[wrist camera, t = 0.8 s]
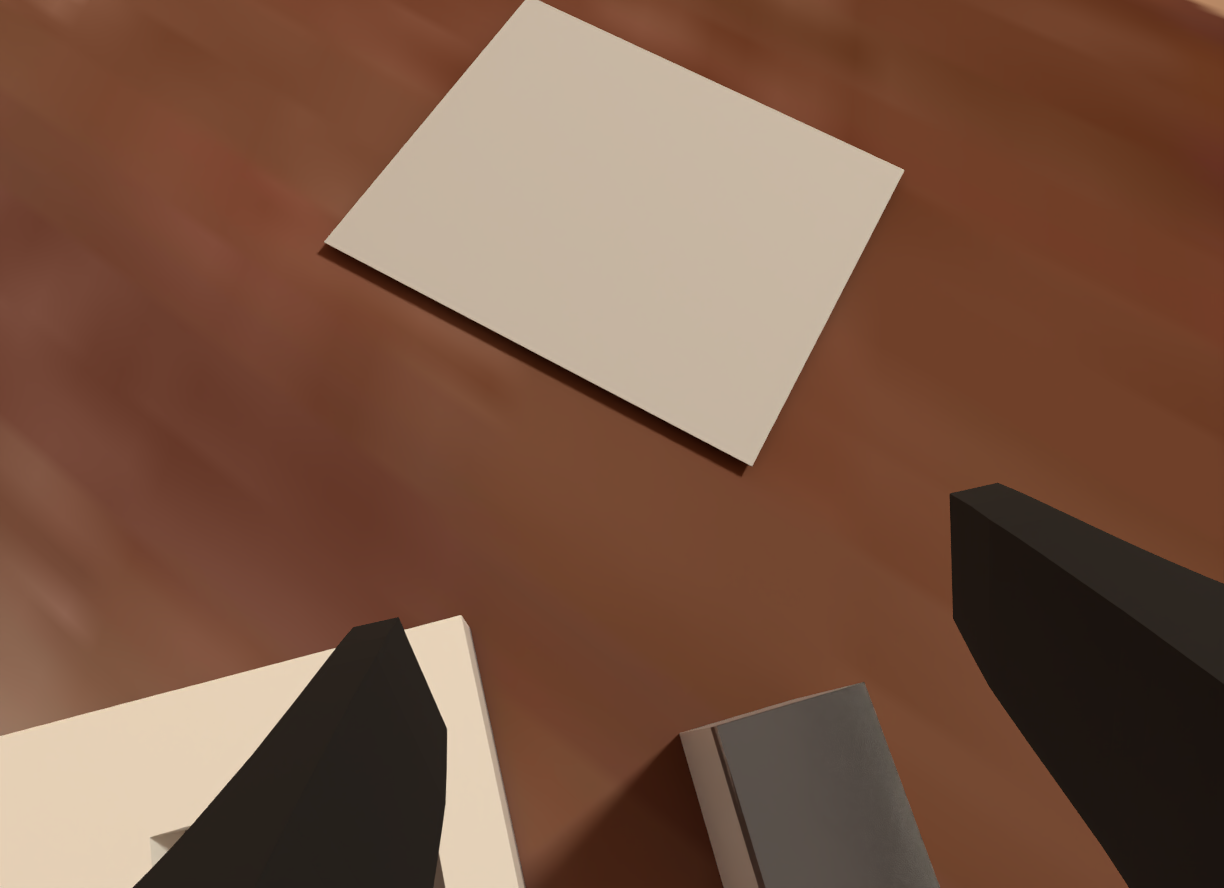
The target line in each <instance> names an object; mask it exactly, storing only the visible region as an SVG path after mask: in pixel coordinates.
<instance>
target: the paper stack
mask: <svg viewBox="0 0 1224 888" xmlns="http://www.w3.org/2000/svg"><path fill="white" fill-rule="evenodd" d="M903 172H904V170H903V169H901V168H899V167H897V166H895V165H892V164H890V163H888V162H886V161H884V160H882V159H880V158H877V157H875V156H873V155H871V154H869V153H867V152H864V151H862V150H860V149H858V148H856V147H854V146H851V145H849V144H847V143H845V142H843V141H841V140H838V139H836V138H834V137H832V136H830V135H828V134H826V133H823V132H821V131H819V130H817V129H815V128H813V127H810V126H808V125H806V124H804V123H802V122H800V121H797V120H795V119H793V118H791V117H789V116H787V115H785V114H782V113H780V112H778V111H776V110H774V109H772V108H769V107H767V106H765V105H763V104H761V103H759V102H756V101H754V100H752V99H750V98H748V97H746V96H744V95H741V94H739V93H737V92H735V91H733V90H731V89H728V88H726V87H724V86H722V85H720V84H718V83H715V82H713V81H711V80H709V79H707V78H705V77H703V76H700V75H698V74H696V73H694V72H692V71H690V70H687V69H685V68H683V67H681V66H679V65H677V64H674V63H672V62H670V61H668V60H666V59H664V58H662V57H659V56H657V55H655V54H653V53H651V52H649V51H646V50H644V49H642V48H640V47H638V46H636V45H633V44H631V43H629V42H627V41H625V40H623V39H621V38H618V37H616V36H614V35H612V34H610V33H608V32H605V31H603V30H601V29H599V28H597V27H595V26H592V25H590V24H588V23H586V22H584V21H582V20H579V19H577V18H575V17H573V16H571V15H569V14H567V13H564V12H562V11H560V10H558V9H556V8H554V7H551V6H549V5H547V4H545V3H543V2H541V1H538V0H525V1H524V2H523V3H522V5H521V6H520V7H519V8H518V9H517V11H516V12H515V13H514V14H513V15H512V17H511V18H510V19H509V20H508V21H507V23H506V24H505V25H504V26H503V27H502V29H501V30H500V31H499V32H498V33H497V35H496V36H495V37H494V38H493V39H492V41H491V42H490V43H489V44H488V45H487V47H486V48H485V49H484V50H483V51H482V53H481V54H480V55H479V56H478V57H477V59H476V60H475V61H474V62H473V63H472V65H471V66H470V67H469V68H468V69H467V71H466V72H465V73H464V74H463V75H462V77H461V78H460V79H459V80H458V81H457V83H456V84H455V85H454V86H453V87H452V89H451V90H450V91H449V92H448V93H447V95H446V96H445V97H444V98H443V99H442V101H441V102H440V103H439V104H438V105H437V107H436V108H435V109H434V110H433V111H432V113H431V114H430V115H429V116H428V118H427V119H426V120H425V121H424V122H423V124H422V125H421V126H420V127H419V128H418V130H417V131H416V132H415V133H414V134H413V136H412V137H411V138H410V139H409V140H408V142H407V143H406V144H405V145H404V146H403V148H402V149H401V150H400V151H399V152H398V154H397V155H396V156H395V157H394V158H393V160H392V161H391V162H390V163H389V164H388V166H387V167H386V168H385V169H384V170H383V172H382V173H381V174H380V175H379V176H378V178H377V179H376V180H375V181H374V182H373V184H372V185H371V186H370V187H369V188H368V190H367V191H366V192H365V193H364V194H363V196H362V197H361V198H360V199H359V200H358V202H357V203H356V204H355V205H354V206H353V208H352V209H351V210H350V211H349V212H348V214H347V215H346V216H345V217H344V218H343V220H342V221H341V222H340V223H339V224H338V226H337V227H336V228H335V229H334V231H333V232H332V233H331V234H330V235H329V237H328V238H327V239H326V240H325V241H324V243H326V244H328V245H330V246H332V247H334V248H336V249H338V250H339V251H341V252H343V253H345V254H347V255H349V256H351V257H353V258H355V259H357V260H359V261H360V262H362V263H364V264H366V265H368V266H370V267H372V268H374V269H376V270H378V271H380V272H381V273H383V274H385V275H387V276H389V277H391V278H393V279H395V280H397V281H399V282H400V283H402V284H404V285H406V286H408V287H410V288H412V289H414V290H416V291H418V292H420V293H421V294H423V295H425V296H427V297H429V298H431V299H433V300H435V301H437V302H439V303H441V304H442V305H444V306H446V307H448V308H450V309H452V310H454V311H456V312H458V313H460V314H462V315H463V316H465V317H467V318H469V319H471V320H473V321H475V322H477V323H479V324H481V325H483V326H484V327H486V328H488V329H490V330H492V331H494V332H496V333H498V334H500V335H502V336H504V337H505V338H507V339H509V340H511V341H513V342H515V343H517V344H519V345H521V346H523V347H525V348H526V349H528V350H530V351H532V352H534V353H536V354H538V355H540V356H542V357H544V358H546V359H547V360H549V361H551V362H553V363H555V364H557V365H559V366H561V367H563V368H565V369H567V370H568V371H570V372H572V373H574V374H576V375H578V376H580V377H582V378H584V379H586V380H588V381H589V382H591V383H593V384H595V385H597V386H599V387H601V388H603V389H605V390H607V391H609V392H610V393H612V394H614V395H616V396H618V397H620V398H622V399H624V400H626V401H628V402H630V403H631V404H633V405H635V406H637V407H639V408H641V409H643V410H645V411H647V412H649V413H651V414H652V415H654V416H656V417H658V418H660V419H662V420H664V421H666V422H668V423H670V424H672V425H673V426H675V427H677V428H679V429H681V430H683V431H685V432H687V433H689V434H691V435H693V436H694V437H696V438H698V439H700V440H702V441H704V442H706V443H708V444H710V445H712V446H714V447H715V448H717V449H719V450H721V451H723V452H725V453H727V454H729V455H731V456H733V457H734V458H736V459H738V460H740V461H742V462H744V463H746V464H748V465H750V466H752V465H753V463H754V461H755V459H756V458H757V456H758V454H759V452H760V450H761V448H762V446H763V444H764V442H765V440H766V438H767V436H768V434H769V432H770V430H771V428H772V426H773V425H774V423H775V421H776V419H777V417H778V415H779V413H780V411H781V409H782V407H783V405H784V403H785V401H786V399H787V397H788V395H789V393H790V392H791V390H792V388H793V386H794V384H795V382H796V380H797V378H798V376H799V374H800V372H801V370H802V368H803V366H804V364H805V362H806V360H807V358H808V357H809V355H810V353H811V351H812V349H813V347H814V345H815V343H816V341H817V339H818V337H819V335H820V333H821V331H822V329H823V327H824V325H825V324H826V322H827V320H828V318H829V316H830V314H831V312H832V310H833V308H834V306H835V304H836V302H837V300H838V298H839V296H840V294H841V292H842V291H843V289H844V287H845V285H846V283H847V281H848V279H849V277H850V275H851V273H852V271H853V269H854V267H855V265H856V263H857V261H858V259H859V257H860V256H861V254H862V252H863V250H864V248H865V246H866V244H867V242H868V240H869V238H870V236H871V234H872V232H873V230H874V228H875V226H876V224H877V223H878V221H879V219H880V217H881V215H882V213H883V211H884V209H885V207H886V205H887V203H888V201H889V199H890V197H891V195H892V193H893V191H894V190H895V188H896V186H897V184H898V182H899V180H900V178H901V176H902V174H903Z"/></svg>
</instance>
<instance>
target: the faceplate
mask: <svg viewBox="0 0 1224 888" xmlns="http://www.w3.org/2000/svg"><path fill="white" fill-rule="evenodd" d="M404 631H405V633H406V636H407V638H408V640H409V642H410V645H411V647H412V649H413V652H414V654H415V656H416V659H417V661H418V663H419V665H420V668H421V670H422V672H423V675H424V677H425V679H426V681H427V684H428V686H429V688H430V691H431V693H432V695H433V698H434V700H435V702H436V704H437V707H438V709H439V711H440V714H441V716H442V718H443V720H444V723H445V725H446V727H447V779H446V805H445V812H444V819H443V827H442V833H441V840H440V847H439V854H438V861H437V867H436V874H435V880H434V887H433V888H526V887H525V882H524V877H523V873H522V868H521V863H520V859H519V854H518V849H517V845H516V840H515V835H514V831H513V826H512V821H511V816H510V812H509V807H508V802H507V798H506V793H505V788H504V784H503V779H502V774H501V770H500V765H499V760H498V756H497V751H496V746H495V742H494V737H493V732H492V728H491V723H490V718H489V714H488V709H487V704H486V700H485V695H484V690H483V686H482V681H481V676H480V672H479V667H478V662H477V658H476V653H475V648H474V644H473V639H472V634H471V630H470V628H469V626H468V625H467V623H466V622H465V620H464V619H463V617H462V616H461V615H460V616H456V617H452V618H448V619H444V620H441V621H437V622H433V623H429V624H425V625H422V626H418V627H414V628H410V629H406V630H404ZM335 649H336V648H334V649H330V650H326V651H323V652H319V653H315V654H311V655H307V656H304V657H300V658H296V659H292V660H288V661H285V662H281V663H277V664H273V665H269V666H266V667H262V668H258V669H254V670H250V671H247V672H243V673H239V674H235V675H231V676H228V677H224V678H220V679H216V680H212V681H208V682H205V683H201V684H197V685H193V686H189V687H186V688H182V689H178V690H174V691H170V692H167V693H163V694H159V695H155V696H151V697H148V698H144V699H140V700H136V701H132V702H129V703H125V704H121V705H117V706H113V707H110V708H106V709H102V710H98V711H94V712H91V713H87V714H83V715H79V716H75V717H72V718H68V719H64V720H60V721H56V722H52V723H49V724H45V725H41V726H37V727H33V728H30V729H26V730H22V731H18V732H14V733H11V734H7V735H3V736H0V888H133V887H134V885H135V884H136V883H137V882H138V881H139V880H140V879H141V878H142V877H143V876H144V875H145V874H146V873H147V872H148V871H149V870H150V869H151V868H152V867H153V866H154V865H155V864H156V863H157V862H158V861H159V860H160V859H161V858H162V857H163V856H164V855H165V854H166V852H167V851H168V850H169V849H170V848H171V847H172V846H173V845H174V844H175V843H176V842H177V841H178V840H179V838H180V837H181V836H182V835H183V834H184V833H185V832H186V831H187V830H188V829H189V828H190V826H191V825H192V824H193V823H194V822H195V821H196V819H197V818H198V817H199V816H200V815H201V814H202V812H203V811H204V810H205V809H206V808H207V807H208V805H209V804H210V803H211V802H212V801H213V800H214V798H215V797H216V796H217V795H218V794H219V793H220V791H221V790H222V789H223V788H224V787H225V786H226V785H227V783H228V782H229V781H230V780H231V779H232V778H233V776H234V775H235V774H236V773H237V772H238V771H239V769H240V768H241V767H242V766H243V765H244V764H245V762H246V761H247V760H248V759H249V758H250V757H251V755H252V754H253V753H254V752H255V750H256V749H257V748H258V747H259V745H260V744H261V743H262V742H263V740H264V739H265V738H266V737H267V735H268V734H269V733H270V732H271V730H272V729H273V728H274V727H275V725H276V724H277V723H278V721H279V720H280V719H281V718H282V716H283V715H284V714H285V713H286V711H287V710H288V709H289V708H290V706H291V705H292V704H293V703H294V701H295V700H296V699H297V697H298V696H299V695H300V694H301V692H302V691H303V690H304V688H305V687H306V686H307V685H308V683H309V682H310V681H311V679H312V678H313V677H314V676H315V674H316V673H317V672H318V670H319V669H320V668H321V666H322V665H323V664H324V663H325V661H326V660H327V659H328V658H329V656H330V655H331V654H332V652H333V651H334V650H335Z"/></svg>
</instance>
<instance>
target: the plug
mask: <svg viewBox="0 0 1224 888" xmlns="http://www.w3.org/2000/svg"><path fill="white" fill-rule="evenodd" d="M679 735H680V738H681V742H682V745H683V748H684V752H685V755H686V759H687V762H688V766H689V769H690V773H691V776H692V780H693V783H694V787H695V790H696V794H697V797H698V801H699V804H700V808H701V811H702V814H703V818H704V821H705V825H706V828H707V832H708V835H709V839H710V842H711V846H712V849H713V853H714V856H715V860H716V863H717V867H718V870H719V873H720V877H721V880H722V884H723V887H724V888H940V887H939V884H938V881H937V878H936V876H935V873H934V870H933V868H932V865H931V862H930V859H929V857H928V854H927V851H926V849H925V846H924V843H923V840H922V838H921V835H920V832H919V830H918V827H917V824H916V821H915V819H914V816H913V813H912V811H911V808H910V805H909V802H908V800H907V797H906V794H905V792H904V789H903V786H902V783H901V781H900V778H899V775H898V773H897V770H896V767H895V764H894V762H893V759H892V756H891V754H890V751H889V748H888V745H887V743H886V740H885V737H884V735H883V732H882V729H881V726H880V724H879V721H878V718H877V716H876V713H875V710H874V707H873V705H872V702H871V699H870V697H869V694H868V691H867V688H866V686H865V683H864V682H863V683H859V684H855V685H850V686H846V687H842V688H838V689H834V690H830V691H826V692H822V693H818V694H814V695H810V696H806V697H801V698H797V699H793V700H790V701H787V702H783V703H780V704H777V705H773V706H770V707H766V708H763V709H760V710H756V711H753V712H750V713H746V714H743V715H740V716H736V717H733V718H729V719H726V720H723V721H719V722H716V723H713V724H709V725H706V726H703V727H699V728H696V729H692V730H689V731H686V732H682V733H679Z"/></svg>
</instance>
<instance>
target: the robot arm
mask: <svg viewBox="0 0 1224 888" xmlns="http://www.w3.org/2000/svg"><path fill="white" fill-rule="evenodd" d="M950 521H951V557H952V593H953V619H954V621H955V623H956V625H957V627H958V629H959V631H960V633H961V634H962V636H963V638H964V640H965V642H966V644H967V646H968V648H969V650H970V652H971V654H972V656H973V658H974V659H975V661H976V663H977V665H978V667H979V669H980V670H981V672H982V674H983V676H984V678H985V680H986V681H987V683H988V685H989V687H990V688H991V690H992V691H993V693H994V694H995V696H996V697H997V698H998V700H999V701H1000V703H1001V704H1002V706H1003V707H1004V709H1005V710H1006V711H1007V713H1008V714H1009V716H1010V717H1011V719H1012V720H1013V721H1014V723H1015V724H1016V726H1017V727H1018V729H1019V730H1020V731H1021V733H1022V734H1023V736H1024V737H1025V739H1026V740H1027V741H1028V743H1029V744H1030V746H1031V747H1032V748H1033V750H1034V751H1035V753H1036V754H1037V755H1038V757H1039V758H1040V760H1041V761H1042V762H1043V764H1044V765H1045V767H1046V768H1047V769H1048V771H1049V772H1050V774H1051V775H1052V776H1053V778H1054V779H1055V781H1056V782H1057V783H1058V785H1059V786H1060V788H1061V789H1062V790H1063V792H1064V793H1065V795H1066V796H1067V798H1068V799H1069V800H1070V802H1071V803H1072V805H1073V806H1074V807H1075V809H1076V810H1077V812H1078V813H1079V814H1080V816H1081V817H1082V819H1083V820H1084V821H1085V823H1086V824H1087V826H1088V827H1089V828H1090V830H1091V831H1092V833H1093V834H1094V835H1095V837H1096V838H1097V840H1098V841H1099V842H1100V844H1101V845H1102V847H1103V848H1104V850H1105V851H1106V853H1107V854H1108V856H1109V857H1110V859H1111V860H1112V862H1113V864H1114V865H1115V867H1116V868H1117V870H1118V871H1119V873H1120V874H1121V876H1122V877H1123V879H1124V880H1125V882H1126V883H1127V885H1128V887H1129V888H1224V584H1223V583H1220V582H1218V581H1215V580H1213V579H1210V578H1208V577H1205V576H1203V575H1201V574H1198V573H1196V572H1194V571H1191V570H1189V569H1187V568H1184V567H1182V566H1180V565H1177V564H1175V563H1173V562H1170V561H1168V560H1166V559H1163V558H1161V557H1159V556H1157V555H1154V554H1152V553H1150V552H1148V551H1145V550H1143V549H1141V548H1139V547H1137V546H1134V545H1132V544H1130V543H1128V542H1126V541H1123V540H1121V539H1119V538H1117V537H1115V536H1113V535H1110V534H1108V533H1106V532H1104V531H1102V530H1100V529H1097V528H1095V527H1093V526H1091V525H1089V524H1087V523H1085V522H1083V521H1081V520H1078V519H1076V518H1074V517H1072V516H1070V515H1068V514H1066V513H1064V512H1061V511H1059V510H1057V509H1055V508H1053V507H1051V506H1049V505H1047V504H1044V503H1042V502H1040V501H1038V500H1036V499H1034V498H1032V497H1029V496H1027V495H1025V494H1023V493H1020V492H1018V491H1016V490H1014V489H1011V488H1009V487H1006V486H1004V485H1002V484H999V483H995V484H991V485H986V486H982V487H977V488H973V489H968V490H964V491H960V492H955V493H951V494H950ZM446 779H447V727H446V725H445V723H444V720H443V718H442V716H441V714H440V711H439V709H438V707H437V704H436V702H435V700H434V698H433V695H432V693H431V691H430V688H429V686H428V684H427V681H426V679H425V677H424V675H423V672H422V670H421V668H420V665H419V663H418V661H417V659H416V656H415V654H414V652H413V649H412V647H411V645H410V642H409V640H408V638H407V636H406V633H405V631H404V629H403V626H402V624H401V622H400V620H399V617H398V618H393V619H389V620H384V621H380V622H375V623H371V624H366V625H362V626H357V627H353V628H352V629H351V631H350V632H349V633H348V634H347V635H346V636H345V638H344V639H343V640H342V641H341V642H340V644H339V645H338V646H337V647H336V649H335V650H334V651H333V652H332V654H331V655H330V656H329V658H328V659H327V660H326V661H325V663H324V664H323V665H322V666H321V668H320V669H319V670H318V672H317V673H316V674H315V676H314V677H313V678H312V679H311V681H310V682H309V683H308V685H307V686H306V687H305V688H304V690H303V691H302V692H301V694H300V695H299V696H298V697H297V699H296V700H295V701H294V703H293V704H292V705H291V706H290V708H289V709H288V710H287V711H286V713H285V714H284V715H283V716H282V718H281V719H280V720H279V721H278V723H277V724H276V725H275V727H274V728H273V729H272V730H271V732H270V733H269V734H268V735H267V737H266V738H265V739H264V740H263V742H262V743H261V744H260V745H259V747H258V748H257V749H256V750H255V752H254V753H253V754H252V755H251V757H250V758H249V759H248V760H247V761H246V762H245V764H244V765H243V766H242V767H241V768H240V769H239V771H238V772H237V773H236V774H235V775H234V776H233V778H232V779H231V780H230V781H229V782H228V783H227V785H226V786H225V787H224V788H223V789H222V790H221V791H220V793H219V794H218V795H217V796H216V797H215V798H214V800H213V801H212V802H211V803H210V804H209V805H208V807H207V808H206V809H205V810H204V811H203V812H202V814H201V815H200V816H199V817H198V818H197V819H196V821H195V822H194V823H193V824H192V825H191V826H190V828H189V829H188V830H187V831H186V832H185V833H184V834H183V835H182V836H181V837H180V838H179V840H178V841H177V842H176V843H175V844H174V845H173V846H172V847H171V848H170V849H169V850H168V851H167V852H166V854H165V855H164V856H163V857H162V858H161V859H160V860H159V861H158V862H157V863H156V864H155V865H154V866H153V867H152V868H151V869H150V870H149V871H148V872H147V873H146V874H145V875H144V876H143V877H142V878H141V879H140V880H139V881H138V882H137V883H136V884H135V885H134V887H133V888H433V887H434V880H435V874H436V867H437V861H438V854H439V847H440V840H441V833H442V827H443V819H444V812H445V805H446Z"/></svg>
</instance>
